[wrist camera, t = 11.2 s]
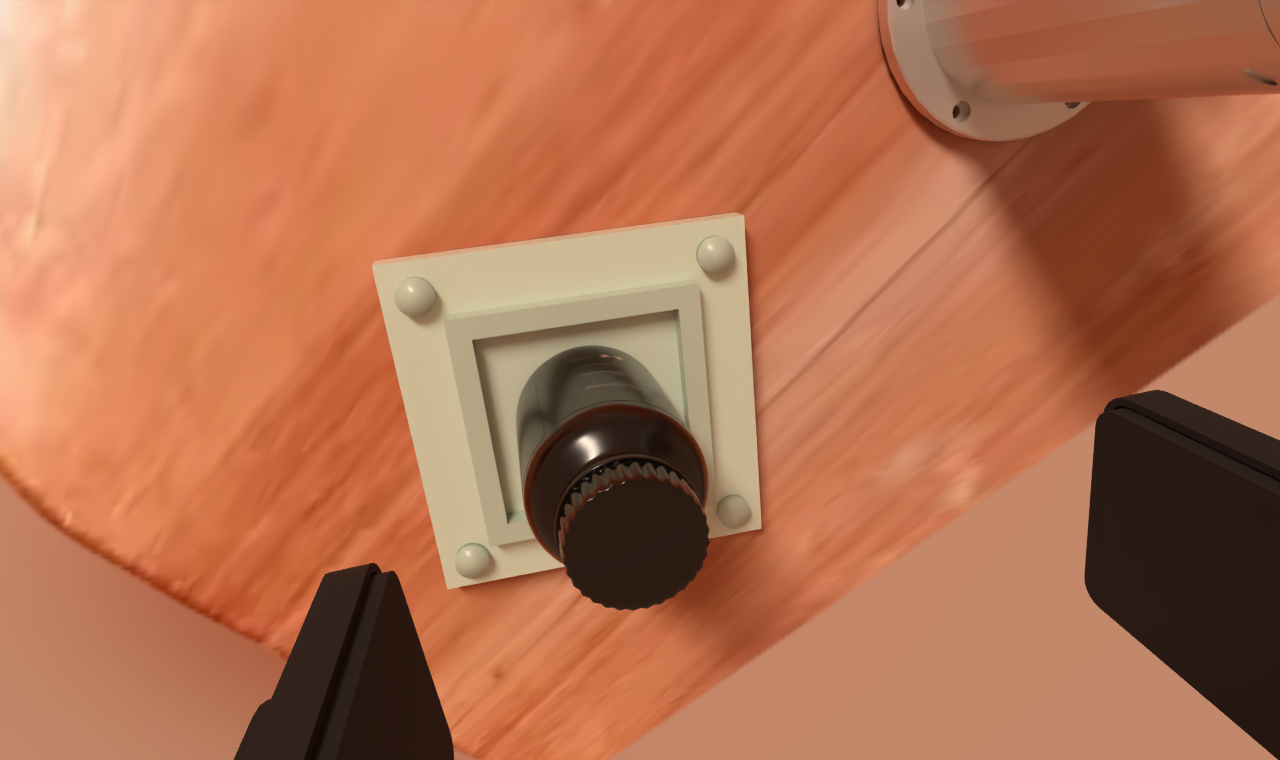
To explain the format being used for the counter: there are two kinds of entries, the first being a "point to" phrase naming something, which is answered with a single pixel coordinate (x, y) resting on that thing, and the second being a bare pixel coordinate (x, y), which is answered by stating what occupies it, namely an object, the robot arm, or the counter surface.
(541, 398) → the supplement bottle
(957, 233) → the counter surface
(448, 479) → the seating plate
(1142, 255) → the counter surface
